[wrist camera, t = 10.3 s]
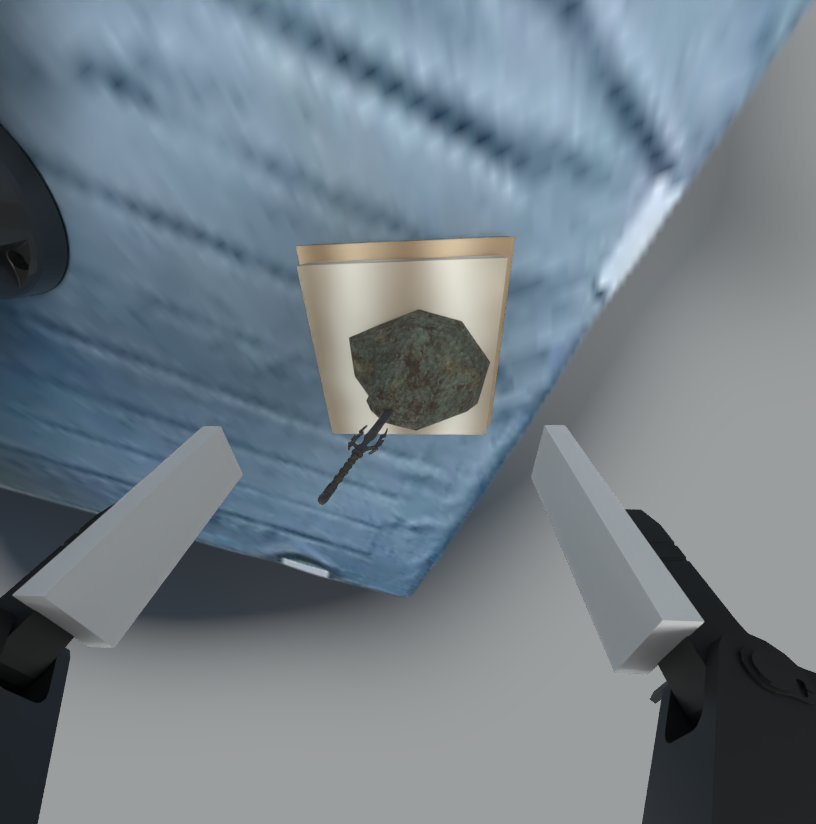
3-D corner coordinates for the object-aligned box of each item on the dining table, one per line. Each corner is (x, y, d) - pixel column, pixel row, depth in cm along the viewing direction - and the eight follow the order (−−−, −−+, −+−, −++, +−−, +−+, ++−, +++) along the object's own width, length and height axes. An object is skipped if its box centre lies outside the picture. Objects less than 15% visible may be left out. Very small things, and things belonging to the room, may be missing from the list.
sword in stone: (493, 302, 19) (566, 401, 9) (487, 405, 23) (531, 550, 13) (341, 316, 20) (253, 418, 10) (363, 412, 24) (317, 550, 14)
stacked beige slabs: (342, 405, 31) (323, 442, 26) (312, 244, 23) (276, 248, 18) (484, 405, 30) (496, 444, 25) (503, 236, 22) (528, 237, 17)
